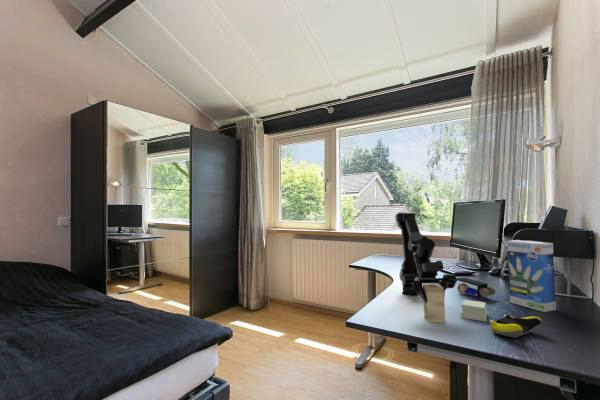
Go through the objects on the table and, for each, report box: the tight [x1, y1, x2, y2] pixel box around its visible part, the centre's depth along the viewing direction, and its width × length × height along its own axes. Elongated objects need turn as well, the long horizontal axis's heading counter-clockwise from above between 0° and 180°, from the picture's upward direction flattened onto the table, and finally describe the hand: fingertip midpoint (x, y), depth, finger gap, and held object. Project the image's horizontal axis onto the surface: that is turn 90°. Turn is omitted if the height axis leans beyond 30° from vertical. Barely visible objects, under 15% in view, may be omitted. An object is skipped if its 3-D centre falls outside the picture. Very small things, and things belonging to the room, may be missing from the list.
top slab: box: [461, 299, 487, 315], centre depth 108 cm, size 7×7×2 cm
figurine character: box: [456, 277, 497, 301], centre depth 131 cm, size 7×8×15 cm
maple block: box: [422, 284, 446, 323], centre depth 105 cm, size 6×6×12 cm
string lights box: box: [506, 239, 557, 313], centre depth 117 cm, size 13×8×26 cm, turn 21°
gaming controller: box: [489, 314, 543, 339], centre depth 92 cm, size 15×6×10 cm
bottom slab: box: [459, 307, 488, 322], centre depth 108 cm, size 8×8×2 cm
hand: (434, 302), depth 104 cm, fingers closed on maple block, 5 cm apart
